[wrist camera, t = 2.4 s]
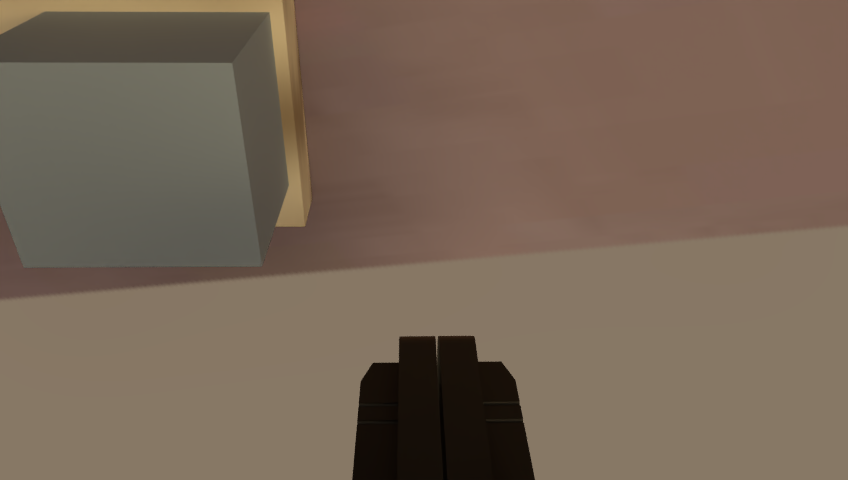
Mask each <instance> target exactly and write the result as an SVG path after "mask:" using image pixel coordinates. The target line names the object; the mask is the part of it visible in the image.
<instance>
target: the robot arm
mask: <svg viewBox="0 0 848 480" xmlns="http://www.w3.org/2000/svg"><path fill="white" fill-rule="evenodd" d="M357 421H358V422H357V423H358V424H357V432H356V443H355V455H354V467H353V479H352V480H535V478H534V473H533V468H532V463H531V457H530V452H529V447H528V443H527V437H526V432H525V427H524V423H523V417H522V412H521V406H520V405H519V396H518V391H517V386H516V381H515V379H514V378H513V376H512V375H511V374H510V372H509V371H508V370H507V369H506V367H505V366H504V365H503V363H502V362H478V359H477V351H476V344H475V338H474V336H438V349H437V357H436V339H435V336H421V337H420V336H418V337H415V336H414V337H413V336H409V337H400V339H399V363H373V364H372V365H371V367H370V368H369V370H368V371H367V373H366V374H365V376H364V378H363V379H362V381H361V385H360V397H359V408H358V420H357Z"/></svg>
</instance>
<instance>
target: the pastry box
mask: <svg viewBox="0 0 848 480" xmlns="http://www.w3.org/2000/svg"><path fill="white" fill-rule="evenodd" d="M288 186H289V182H288V173H287V164H286V155H285V146H284V137H283V128H282V119H281V110H280V101H279V92H278V83H277V74H276V66H275V57H274V48H273V39H272V30H271V21H270V12H56V11H45V12H43V13H41V14H39V15H37V16H35V17H33V18H31V19H29V20H28V21H26V22H24V23H22V24H20V25H18V26H16V27H14V28H12V29H10V30H8V31H6V32H4V33H2V34H0V206H1V209H2V211H3V214H4V217H5V219H6V222H7V225H8V227H9V230H10V233H11V235H12V238H13V241H14V243H15V246H16V248H17V251H18V254H19V256H20V259H21V262H22V264H23V267H24V268H63V267H262V265H263V262H264V259H265V256H266V253H267V250H268V247H269V244H270V241H271V238H272V235H273V232H274V229H275V226H276V223H277V220H278V217H279V214H280V211H281V208H282V205H283V202H284V199H285V196H286V193H287V190H288Z"/></svg>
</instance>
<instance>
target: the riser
mask: <svg viewBox="0 0 848 480" xmlns="http://www.w3.org/2000/svg"><path fill="white" fill-rule="evenodd" d="M45 11H56V12H270V21H271V30H272V39H273V48H274V57H275V66H276V74H277V83H278V92H279V101H280V110H281V119H282V128H283V137H284V146H285V155H286V164H287V173H288V182H289V186H288V190H287V193H286V196H285V199H284V202H283V205H282V208H281V211H280V214H279V217H278V220H277V223H276V226H275V227H305V225H306V221H307V217H308V213H309V209H310V205H311V202H312V191H311V181H310V170H309V159H308V148H307V137H306V126H305V115H304V105H303V94H302V83H301V72H300V61H299V50H298V39H297V29H296V18H295V7H294V0H0V34H2V33H4V32H6V31H8V30H10V29H12V28H14V27H16V26H18V25H20V24H22V23H24V22H26V21H28V20H29V19H31V18H33V17H35V16H37V15H39V14H41V13H43V12H45Z"/></svg>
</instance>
